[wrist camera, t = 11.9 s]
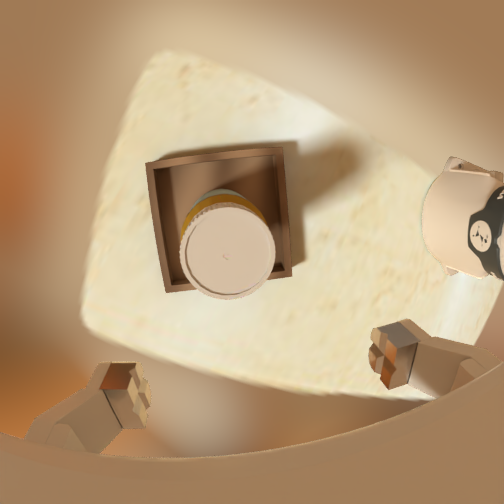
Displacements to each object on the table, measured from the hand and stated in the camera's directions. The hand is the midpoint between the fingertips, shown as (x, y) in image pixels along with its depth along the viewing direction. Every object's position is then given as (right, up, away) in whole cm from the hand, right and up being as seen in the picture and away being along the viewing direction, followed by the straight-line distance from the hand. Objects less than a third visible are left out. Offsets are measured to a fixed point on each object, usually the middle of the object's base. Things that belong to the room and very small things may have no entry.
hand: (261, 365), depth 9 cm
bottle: (-4, +7, +24) cm, 25 cm away
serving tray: (-4, +8, +24) cm, 26 cm away
